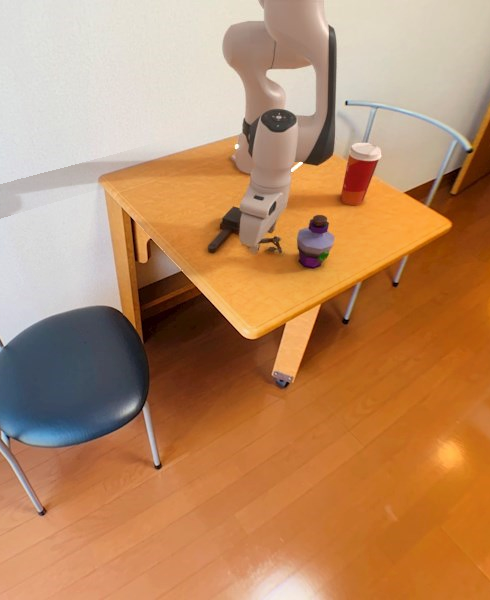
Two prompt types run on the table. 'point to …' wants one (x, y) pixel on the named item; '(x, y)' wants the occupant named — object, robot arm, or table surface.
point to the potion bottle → (314, 242)
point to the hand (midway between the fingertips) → (262, 241)
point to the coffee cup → (359, 172)
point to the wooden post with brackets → (275, 239)
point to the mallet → (226, 228)
